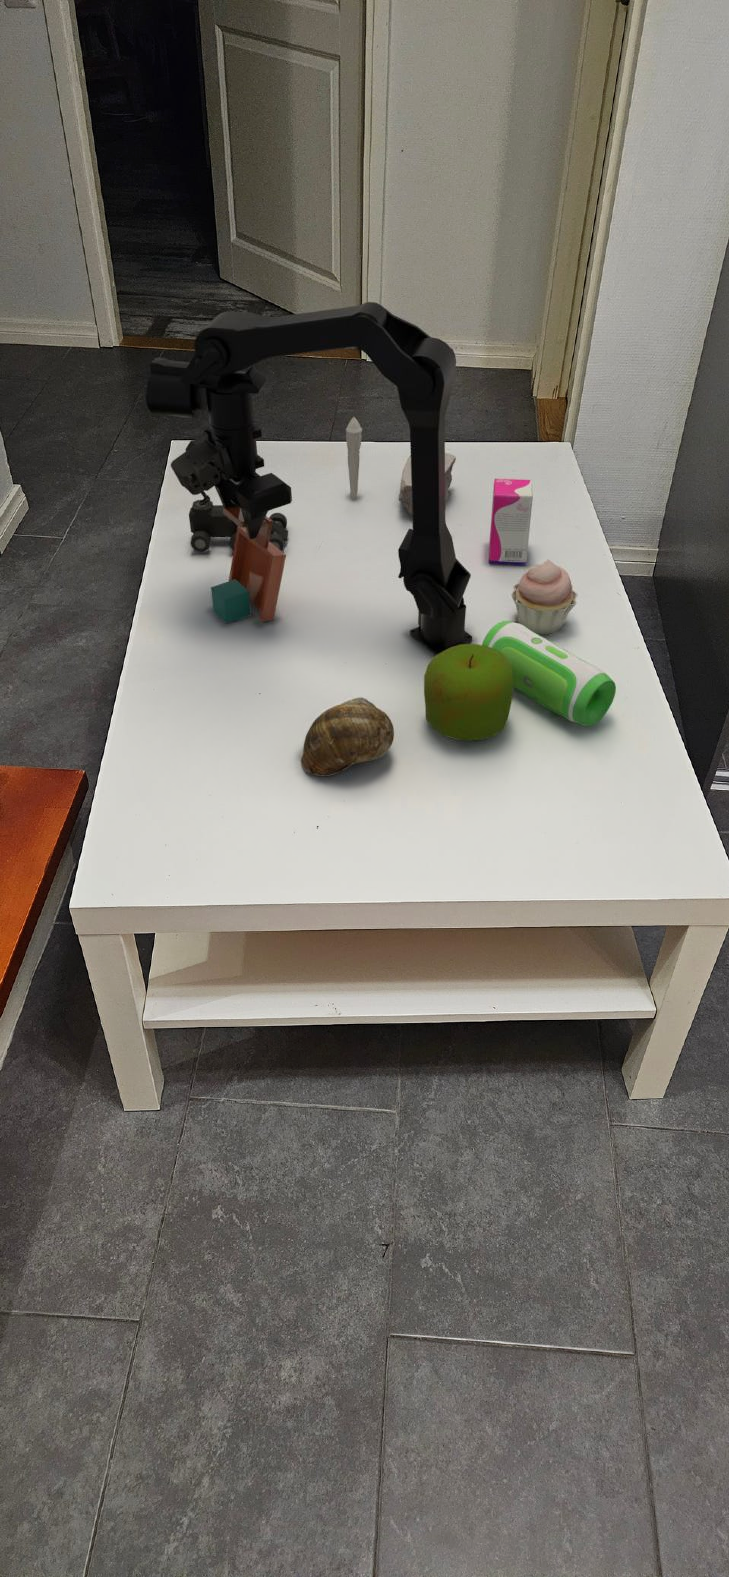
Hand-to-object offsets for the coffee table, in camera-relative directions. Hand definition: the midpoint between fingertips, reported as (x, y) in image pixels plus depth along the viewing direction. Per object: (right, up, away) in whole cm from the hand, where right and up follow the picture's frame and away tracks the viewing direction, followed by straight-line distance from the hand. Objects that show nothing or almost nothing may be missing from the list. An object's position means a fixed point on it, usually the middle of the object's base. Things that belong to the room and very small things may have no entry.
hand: (243, 529), depth 148 cm
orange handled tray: (+2, -3, +5) cm, 6 cm away
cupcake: (+42, -12, +5) cm, 44 cm away
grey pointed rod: (+15, +13, +33) cm, 39 cm away
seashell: (+15, -32, -16) cm, 39 cm away
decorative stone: (+27, +12, +32) cm, 43 cm away
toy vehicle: (-3, +3, +22) cm, 23 cm away
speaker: (+40, -24, -7) cm, 47 cm away
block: (-2, -7, +4) cm, 9 cm away
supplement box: (+39, 0, +19) cm, 43 cm away
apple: (+29, -28, -12) cm, 42 cm away
